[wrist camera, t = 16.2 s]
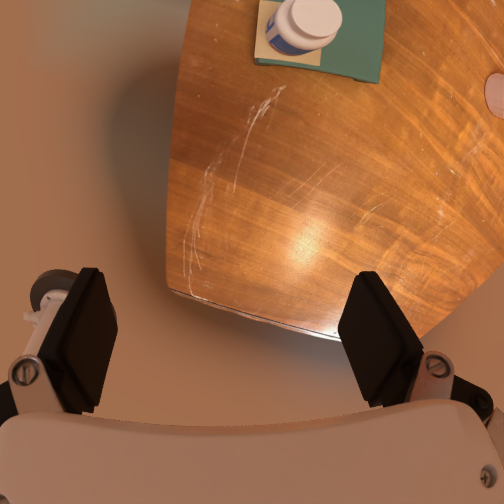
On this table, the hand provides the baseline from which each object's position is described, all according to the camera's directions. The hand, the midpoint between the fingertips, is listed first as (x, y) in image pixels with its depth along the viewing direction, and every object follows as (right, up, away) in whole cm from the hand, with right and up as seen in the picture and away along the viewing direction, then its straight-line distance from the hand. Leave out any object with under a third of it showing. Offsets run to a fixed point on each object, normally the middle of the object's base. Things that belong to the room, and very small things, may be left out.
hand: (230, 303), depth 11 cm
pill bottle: (+5, +24, +14) cm, 29 cm away
